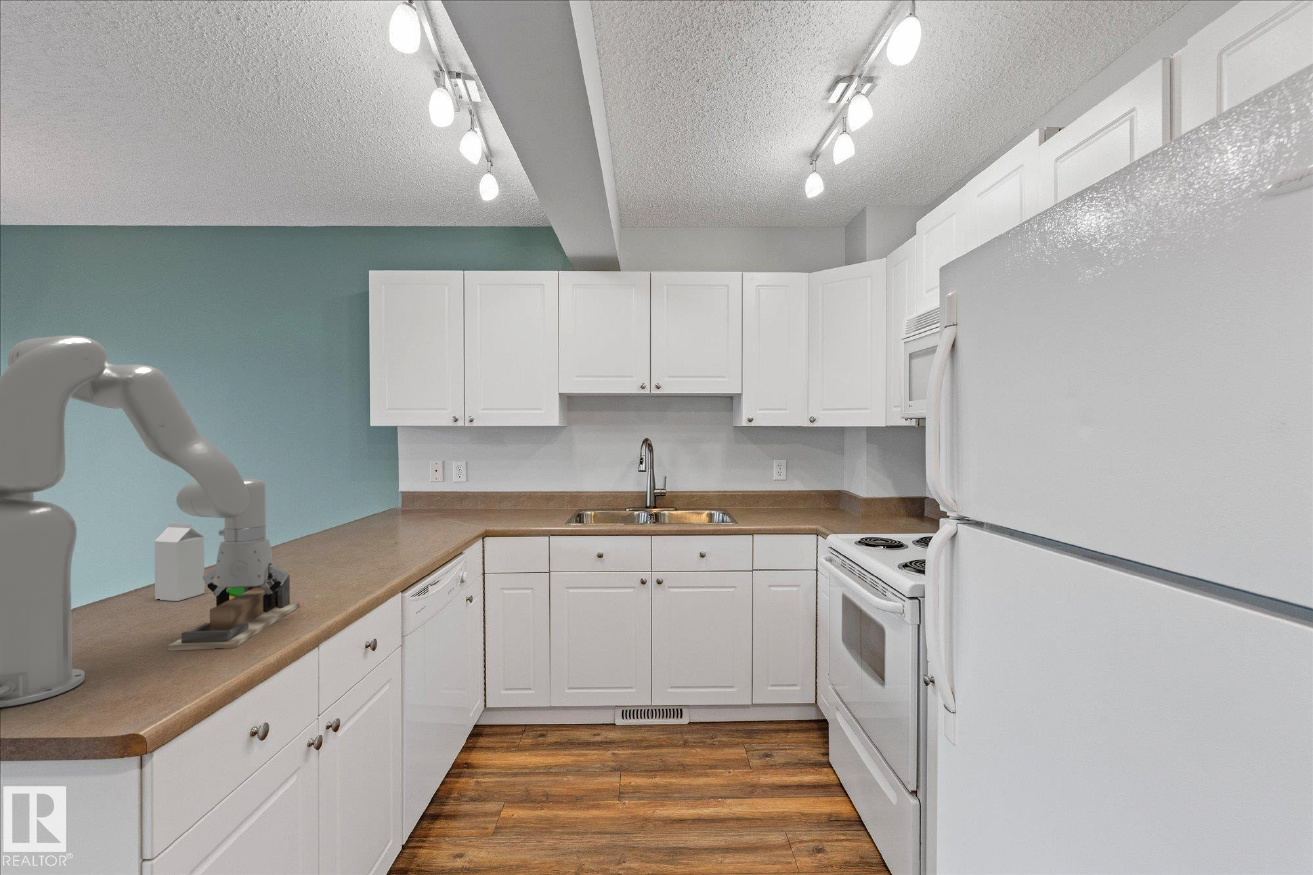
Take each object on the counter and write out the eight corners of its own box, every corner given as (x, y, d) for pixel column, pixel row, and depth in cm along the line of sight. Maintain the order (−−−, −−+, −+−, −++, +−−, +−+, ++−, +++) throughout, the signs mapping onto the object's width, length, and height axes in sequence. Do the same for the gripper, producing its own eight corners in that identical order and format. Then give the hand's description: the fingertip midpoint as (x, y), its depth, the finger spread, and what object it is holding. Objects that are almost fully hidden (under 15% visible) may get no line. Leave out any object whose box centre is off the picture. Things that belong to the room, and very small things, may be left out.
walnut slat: (230, 632, 122) (230, 609, 122) (209, 633, 121) (209, 609, 121) (276, 606, 140) (275, 585, 139) (258, 606, 139) (257, 585, 139)
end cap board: (233, 648, 116) (233, 607, 116) (167, 650, 115) (167, 609, 114) (299, 606, 143) (299, 573, 143) (246, 607, 141) (246, 574, 141)
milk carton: (177, 601, 146) (176, 526, 145) (154, 600, 147) (153, 525, 147) (204, 593, 153) (204, 521, 152) (182, 592, 154) (182, 520, 154)
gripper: (192, 538, 125) (192, 618, 126) (278, 537, 128) (278, 615, 128) (214, 532, 133) (214, 607, 133) (295, 530, 135) (295, 604, 135)
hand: (246, 611), depth 131 cm, fingers open, 9 cm apart
